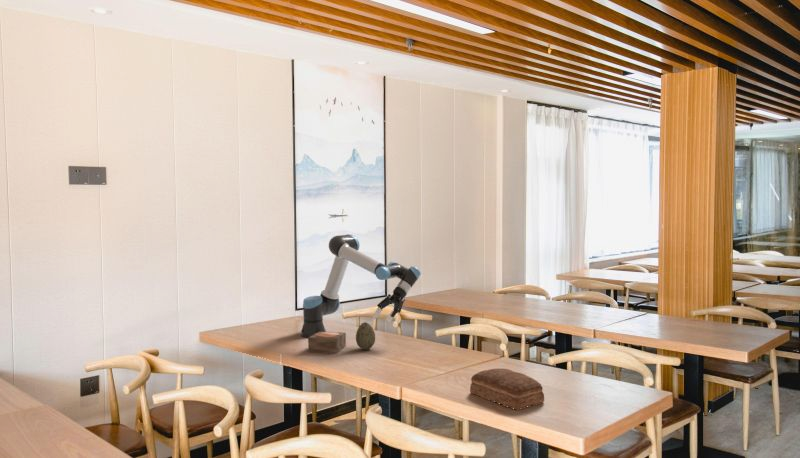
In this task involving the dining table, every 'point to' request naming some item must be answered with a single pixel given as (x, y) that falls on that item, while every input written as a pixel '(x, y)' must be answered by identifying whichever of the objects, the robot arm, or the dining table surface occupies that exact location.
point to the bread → (507, 388)
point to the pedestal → (327, 342)
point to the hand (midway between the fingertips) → (380, 319)
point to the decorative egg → (365, 336)
